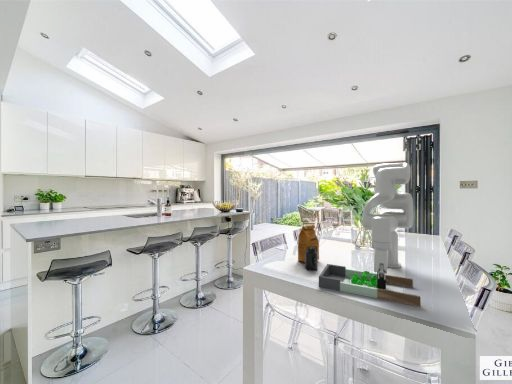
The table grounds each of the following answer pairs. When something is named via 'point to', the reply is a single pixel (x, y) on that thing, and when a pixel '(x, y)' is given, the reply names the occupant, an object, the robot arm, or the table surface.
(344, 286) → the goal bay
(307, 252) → the supplement bottle
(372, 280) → the green bumpy clump
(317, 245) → the coffee package
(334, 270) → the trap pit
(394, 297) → the walnut channel
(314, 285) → the table surface
